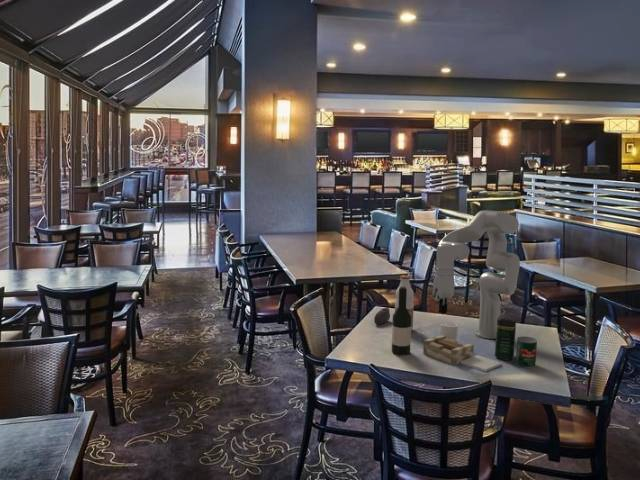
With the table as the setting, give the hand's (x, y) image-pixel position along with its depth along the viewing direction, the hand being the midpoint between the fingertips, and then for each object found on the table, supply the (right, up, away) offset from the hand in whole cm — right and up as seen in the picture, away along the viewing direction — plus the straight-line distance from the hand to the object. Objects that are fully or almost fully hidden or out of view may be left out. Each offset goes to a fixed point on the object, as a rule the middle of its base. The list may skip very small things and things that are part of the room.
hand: (442, 312), depth 236 cm
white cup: (+6, -17, +14) cm, 23 cm away
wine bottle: (-18, -19, +4) cm, 26 cm away
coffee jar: (+27, -20, 0) cm, 33 cm away
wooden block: (+3, -17, -1) cm, 17 cm away
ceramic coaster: (+14, -21, -10) cm, 27 cm away
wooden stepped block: (+2, -19, 0) cm, 19 cm away
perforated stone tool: (-22, -12, +49) cm, 55 cm away
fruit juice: (-12, -14, +37) cm, 41 cm away
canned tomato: (+33, -21, -9) cm, 40 cm away
